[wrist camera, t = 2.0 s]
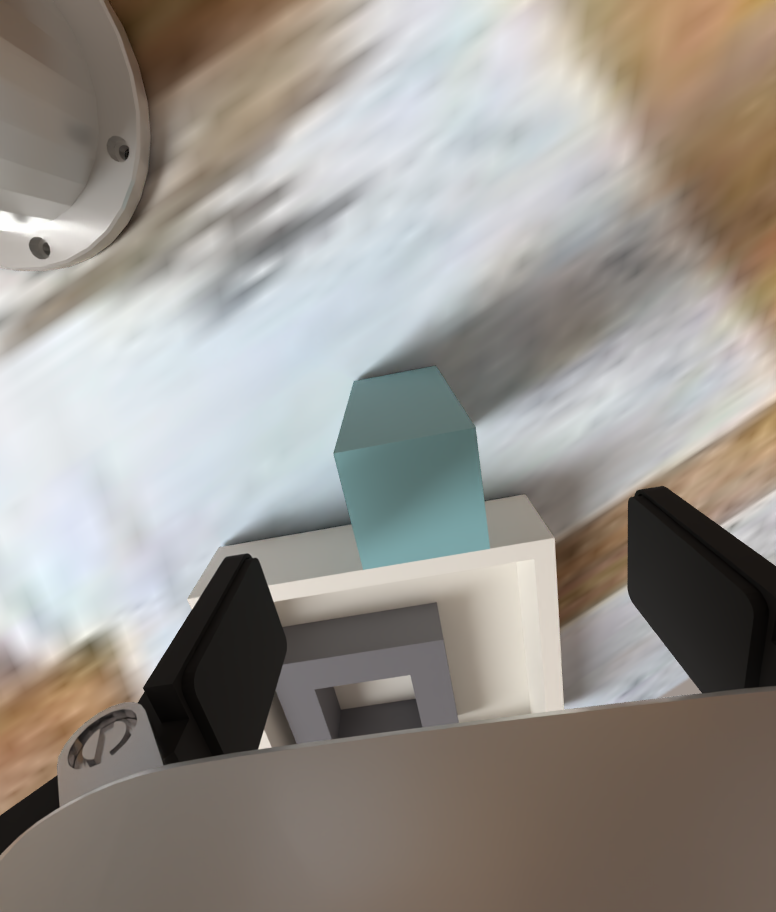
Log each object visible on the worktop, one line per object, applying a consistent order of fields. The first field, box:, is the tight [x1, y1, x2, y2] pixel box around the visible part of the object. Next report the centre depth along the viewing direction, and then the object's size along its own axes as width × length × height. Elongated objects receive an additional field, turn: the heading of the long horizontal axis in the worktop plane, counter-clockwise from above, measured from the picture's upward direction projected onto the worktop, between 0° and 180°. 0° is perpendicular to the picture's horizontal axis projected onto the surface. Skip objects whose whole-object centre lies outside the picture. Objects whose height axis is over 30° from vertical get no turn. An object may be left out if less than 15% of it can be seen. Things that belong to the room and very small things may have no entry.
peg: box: [333, 366, 490, 570], centre depth 18 cm, size 4×4×10 cm
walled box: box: [187, 494, 564, 749], centre depth 26 cm, size 18×18×4 cm
